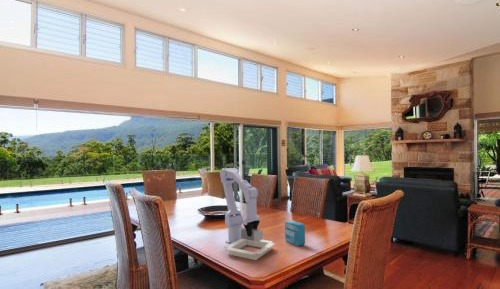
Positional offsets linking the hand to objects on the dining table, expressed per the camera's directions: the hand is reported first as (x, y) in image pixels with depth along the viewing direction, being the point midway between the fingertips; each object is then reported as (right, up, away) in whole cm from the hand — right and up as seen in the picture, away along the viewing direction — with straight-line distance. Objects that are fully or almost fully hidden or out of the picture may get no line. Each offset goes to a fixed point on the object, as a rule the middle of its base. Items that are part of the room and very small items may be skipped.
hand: (251, 235), depth 157 cm
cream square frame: (-1, -8, -2) cm, 9 cm away
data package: (+25, -8, +10) cm, 29 cm away
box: (0, -2, 0) cm, 2 cm away
